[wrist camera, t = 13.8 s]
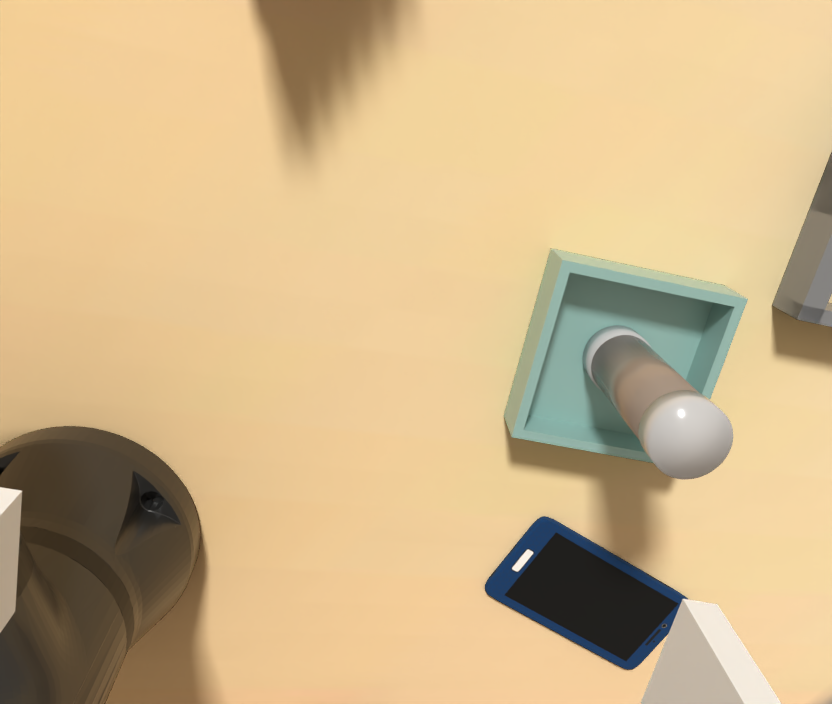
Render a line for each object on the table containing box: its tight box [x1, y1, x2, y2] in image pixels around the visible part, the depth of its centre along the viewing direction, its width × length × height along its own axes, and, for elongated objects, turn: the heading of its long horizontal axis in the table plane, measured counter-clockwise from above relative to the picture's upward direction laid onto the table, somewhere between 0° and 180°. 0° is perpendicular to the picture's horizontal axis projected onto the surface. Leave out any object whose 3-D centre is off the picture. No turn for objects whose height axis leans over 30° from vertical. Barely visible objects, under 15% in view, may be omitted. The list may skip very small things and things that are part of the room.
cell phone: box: [485, 517, 689, 670], centre depth 54 cm, size 7×14×1 cm, turn 56°
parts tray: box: [504, 249, 748, 463], centre depth 46 cm, size 11×11×3 cm
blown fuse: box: [582, 325, 733, 479], centre depth 41 cm, size 4×4×12 cm
